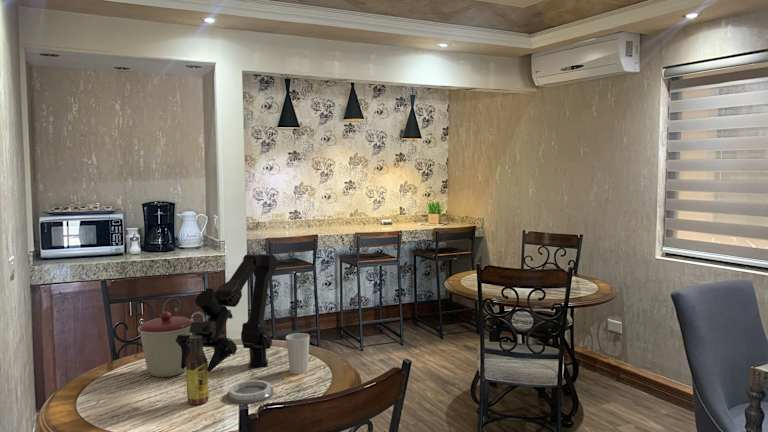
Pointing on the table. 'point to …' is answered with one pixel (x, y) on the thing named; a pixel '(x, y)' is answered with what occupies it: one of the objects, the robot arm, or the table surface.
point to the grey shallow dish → (250, 392)
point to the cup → (298, 352)
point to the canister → (164, 344)
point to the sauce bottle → (197, 372)
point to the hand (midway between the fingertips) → (195, 369)
